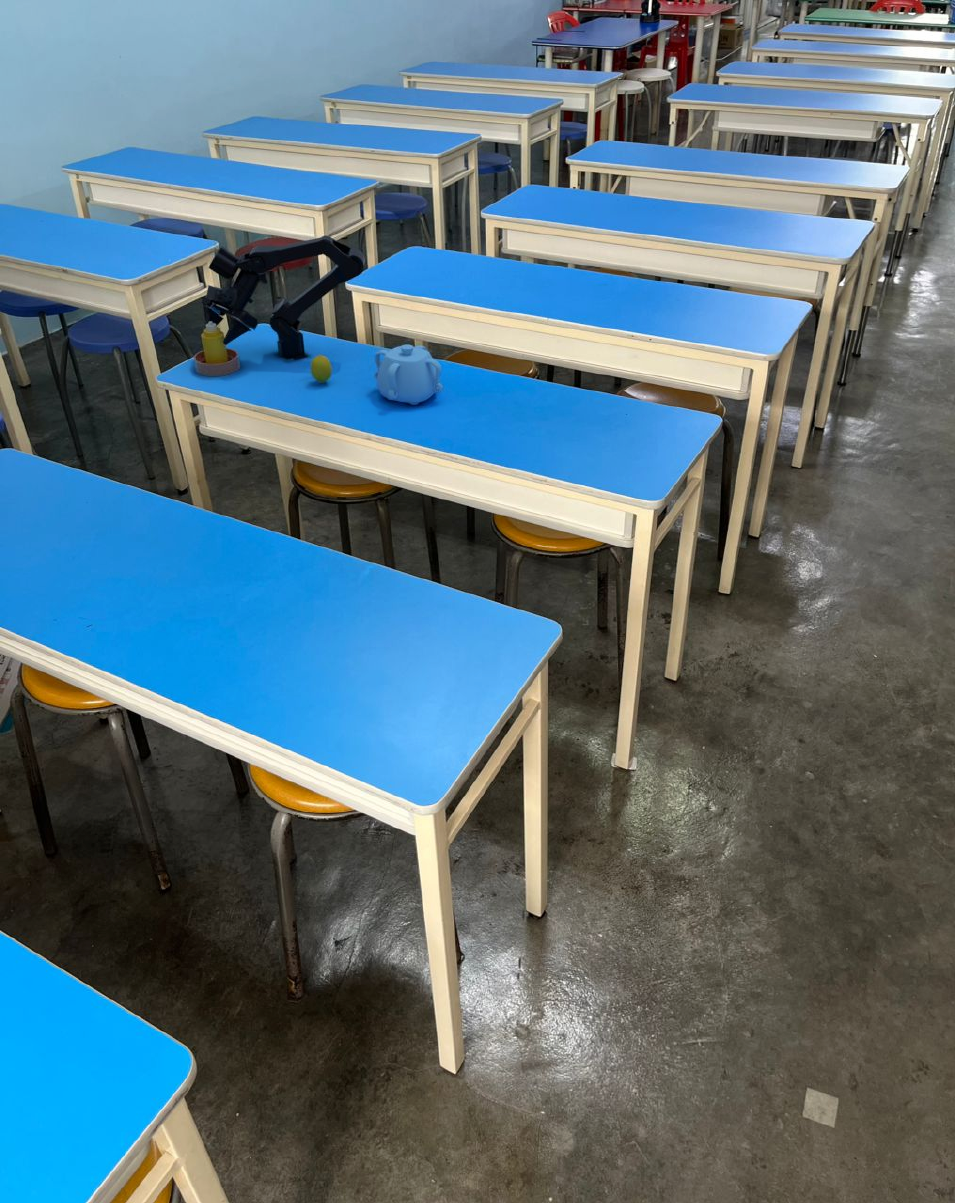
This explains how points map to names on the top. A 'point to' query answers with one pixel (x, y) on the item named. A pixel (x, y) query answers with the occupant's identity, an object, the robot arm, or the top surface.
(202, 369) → the bowl
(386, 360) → the decorative pot
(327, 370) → the lemon
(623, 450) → the top surface
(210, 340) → the mustard bottle
